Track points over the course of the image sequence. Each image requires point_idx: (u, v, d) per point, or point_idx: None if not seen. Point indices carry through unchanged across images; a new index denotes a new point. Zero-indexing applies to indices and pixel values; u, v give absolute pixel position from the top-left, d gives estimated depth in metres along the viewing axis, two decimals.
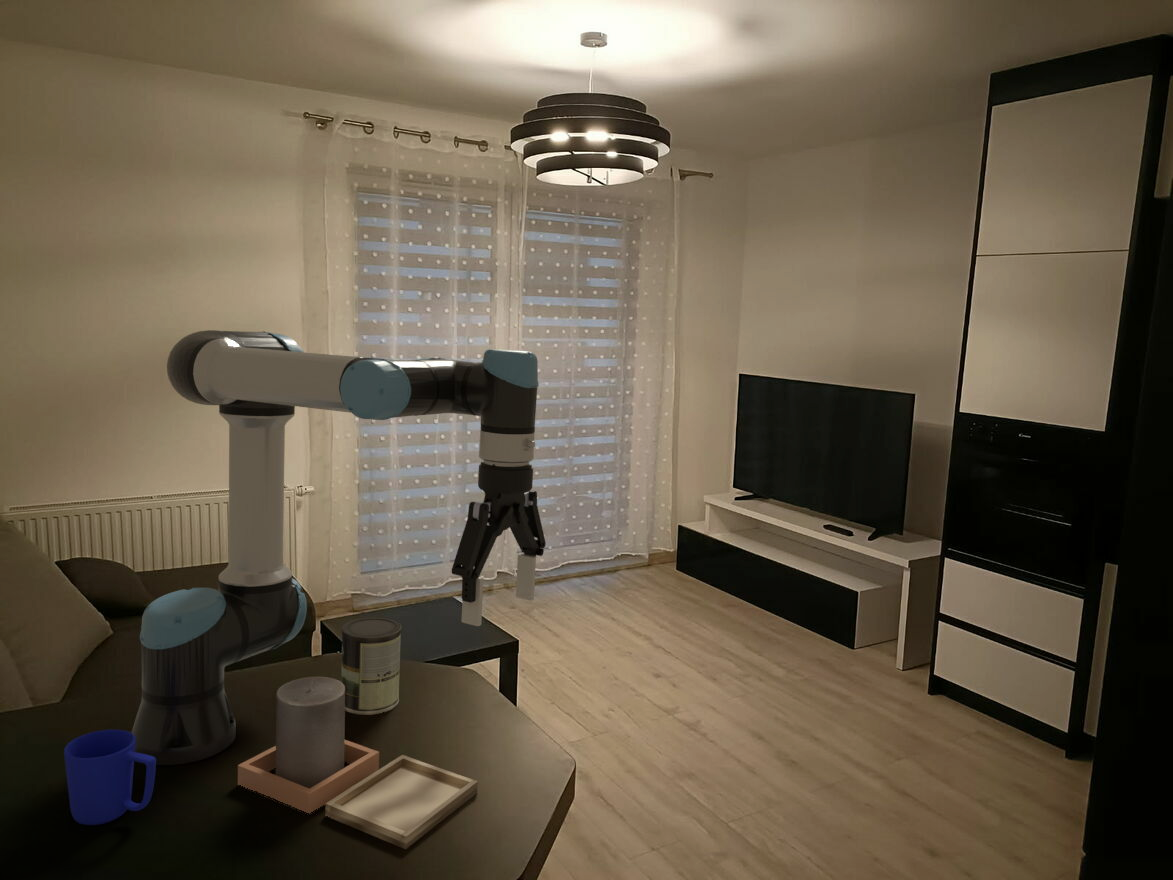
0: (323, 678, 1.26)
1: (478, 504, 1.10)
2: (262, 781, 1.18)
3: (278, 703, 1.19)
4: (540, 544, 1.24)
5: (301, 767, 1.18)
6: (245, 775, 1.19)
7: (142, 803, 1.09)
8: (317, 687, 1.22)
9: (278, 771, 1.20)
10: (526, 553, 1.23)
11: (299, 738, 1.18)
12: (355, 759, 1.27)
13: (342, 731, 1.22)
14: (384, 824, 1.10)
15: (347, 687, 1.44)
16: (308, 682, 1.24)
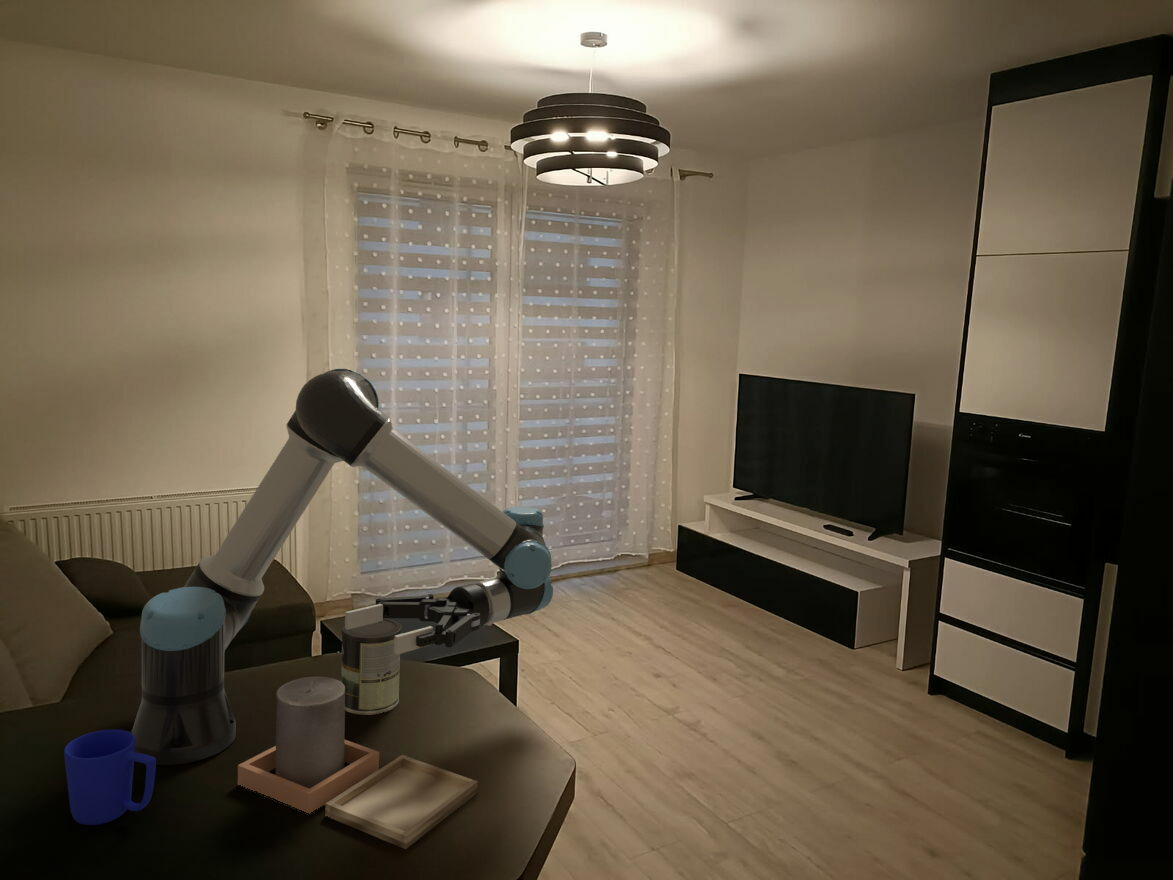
0: (323, 678, 1.26)
1: (479, 622, 1.35)
2: (262, 781, 1.18)
3: (278, 703, 1.19)
4: None
5: (301, 767, 1.18)
6: (245, 775, 1.19)
7: (142, 803, 1.09)
8: (317, 687, 1.22)
9: (278, 771, 1.20)
10: None
11: (299, 738, 1.18)
12: (355, 759, 1.27)
13: (342, 731, 1.22)
14: (384, 824, 1.10)
15: (347, 687, 1.44)
16: (308, 682, 1.24)
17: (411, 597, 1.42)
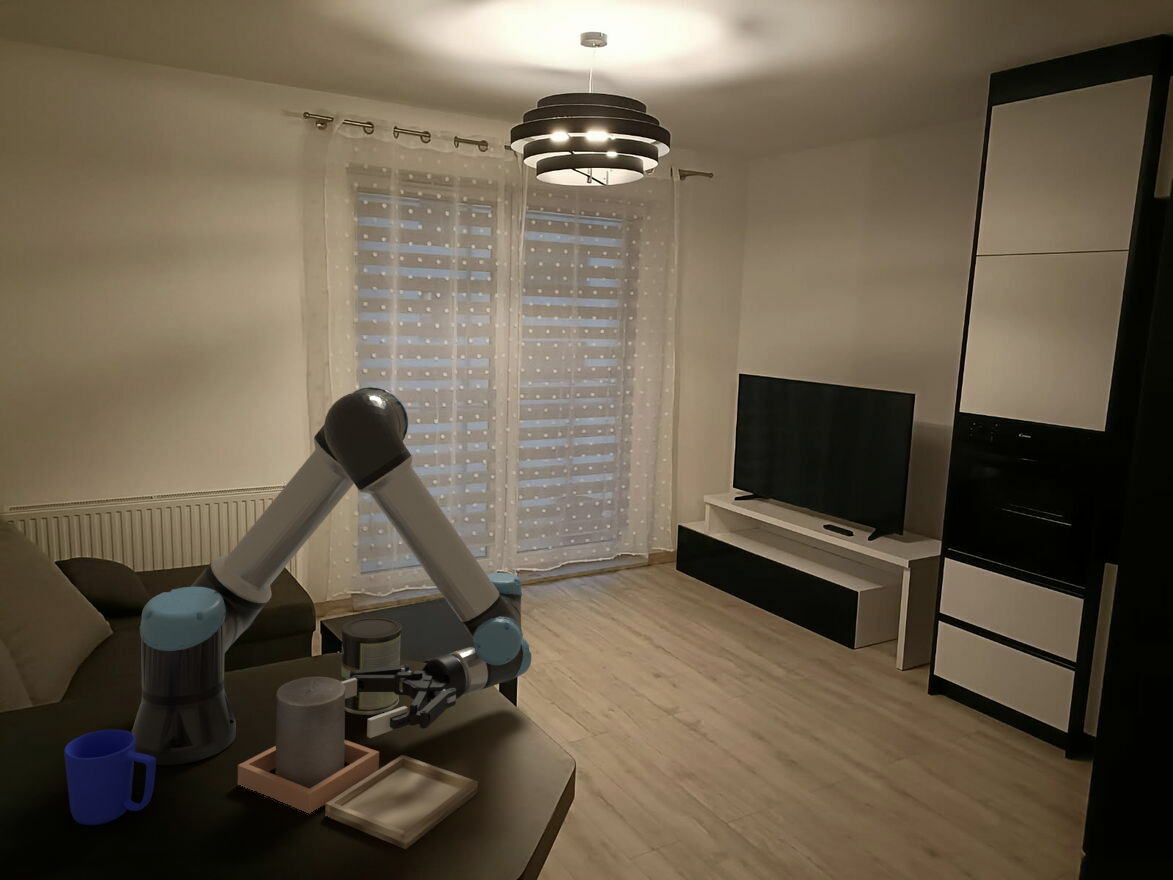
0: (323, 678, 1.26)
1: (455, 697, 1.33)
2: (262, 781, 1.18)
3: (278, 703, 1.19)
4: None
5: (301, 767, 1.18)
6: (245, 775, 1.19)
7: (142, 803, 1.09)
8: (317, 687, 1.22)
9: (278, 771, 1.20)
10: None
11: (299, 738, 1.18)
12: (355, 759, 1.27)
13: (342, 731, 1.22)
14: (384, 824, 1.10)
15: None
16: (308, 682, 1.24)
17: (386, 669, 1.39)
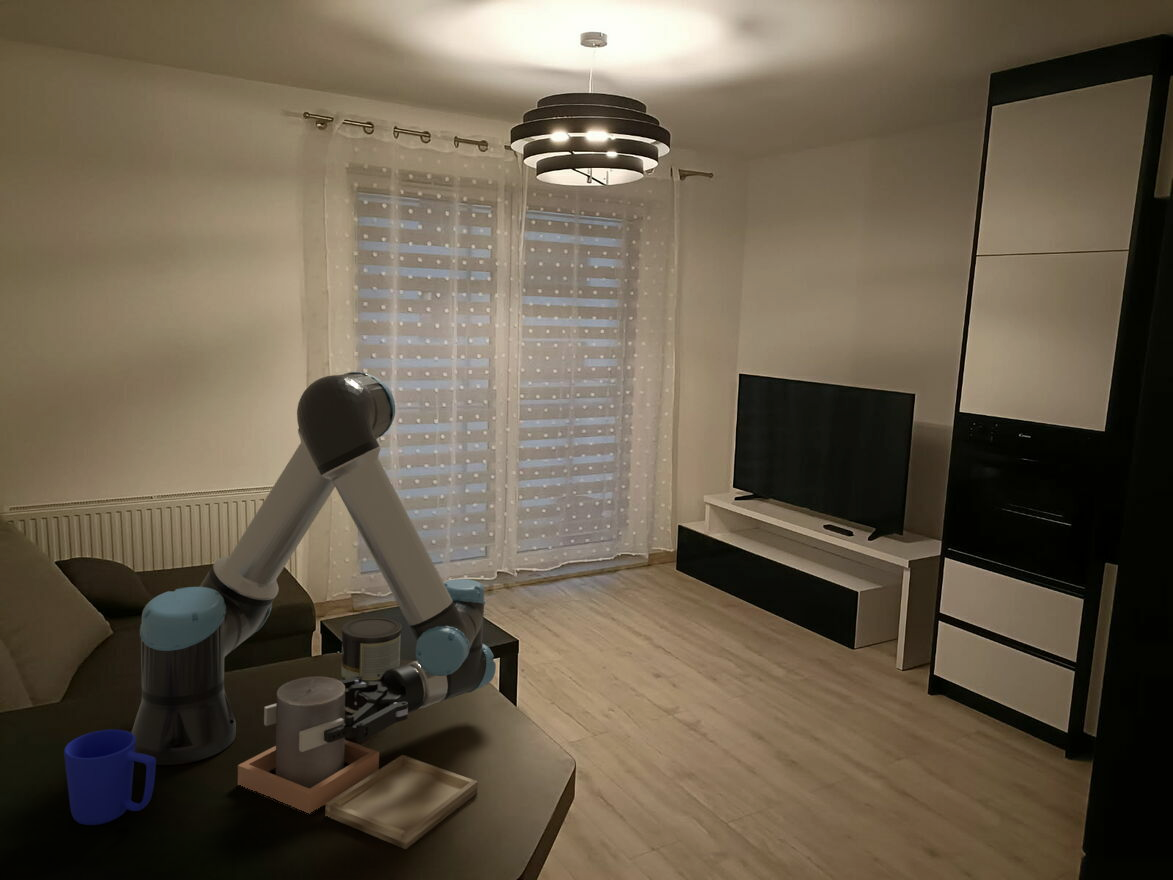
0: (323, 678, 1.26)
1: (407, 711, 1.27)
2: (262, 781, 1.18)
3: (278, 703, 1.19)
4: None
5: (302, 766, 1.18)
6: (245, 775, 1.19)
7: (142, 803, 1.09)
8: (317, 687, 1.22)
9: (278, 771, 1.20)
10: None
11: None
12: (355, 759, 1.27)
13: None
14: (384, 824, 1.10)
15: None
16: (308, 682, 1.24)
17: None
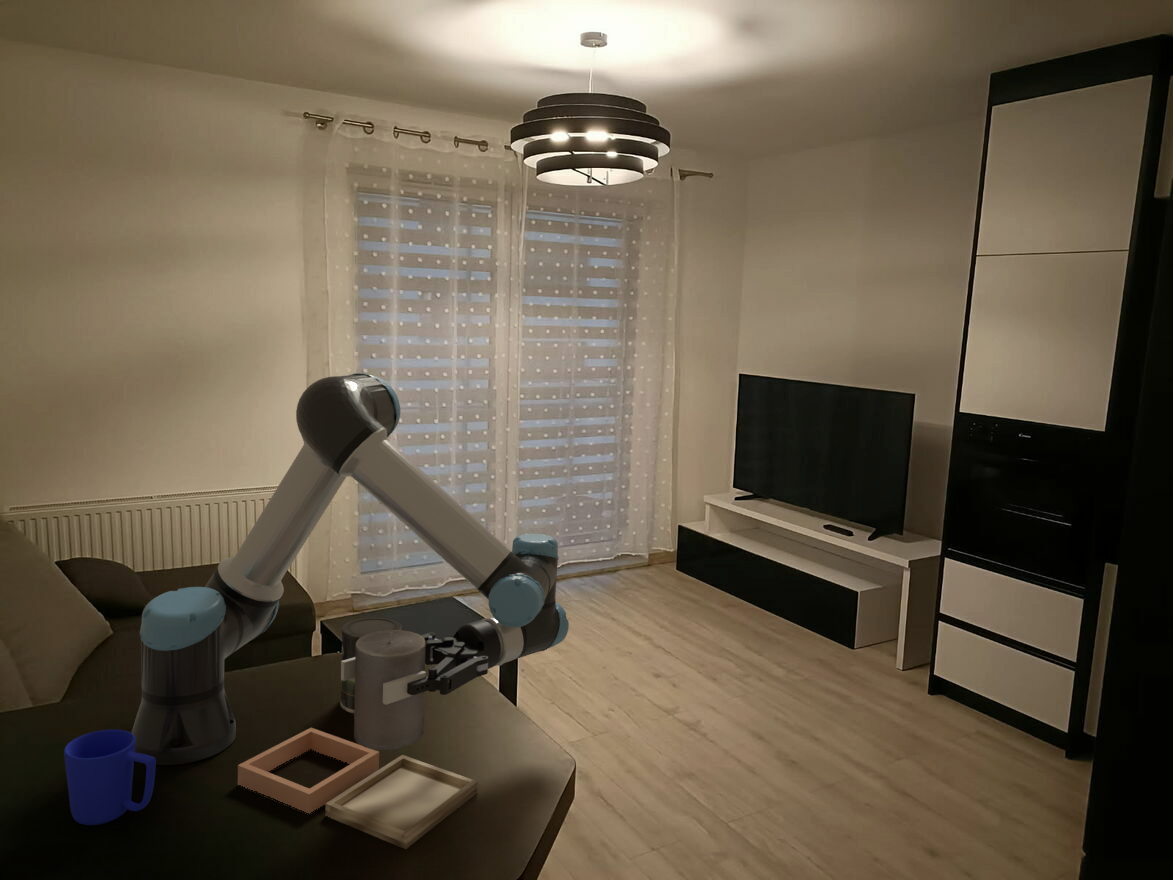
0: (400, 631, 1.20)
1: (487, 666, 1.22)
2: (262, 781, 1.18)
3: (358, 655, 1.13)
4: None
5: (384, 721, 1.13)
6: (245, 775, 1.19)
7: (142, 803, 1.09)
8: (396, 639, 1.17)
9: (358, 726, 1.15)
10: None
11: (382, 691, 1.12)
12: (355, 759, 1.27)
13: None
14: (384, 824, 1.10)
15: (347, 687, 1.44)
16: (386, 635, 1.19)
17: None
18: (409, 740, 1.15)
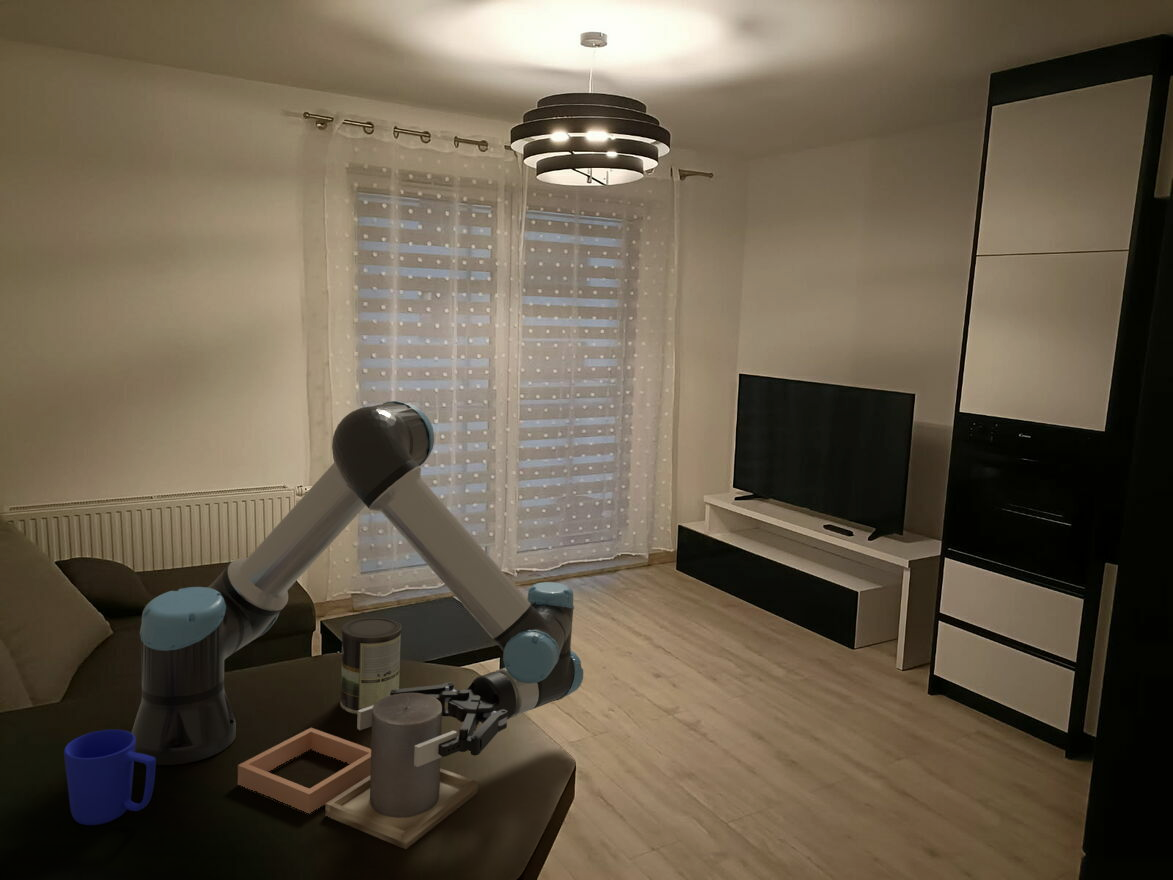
0: (417, 694, 1.20)
1: (506, 720, 1.22)
2: (262, 781, 1.18)
3: (375, 722, 1.13)
4: None
5: (400, 788, 1.13)
6: (245, 775, 1.19)
7: (142, 803, 1.09)
8: (413, 704, 1.17)
9: (374, 793, 1.14)
10: None
11: (399, 758, 1.12)
12: (355, 759, 1.27)
13: None
14: (384, 824, 1.10)
15: (347, 687, 1.44)
16: (403, 699, 1.18)
17: (429, 687, 1.28)
18: (425, 807, 1.15)
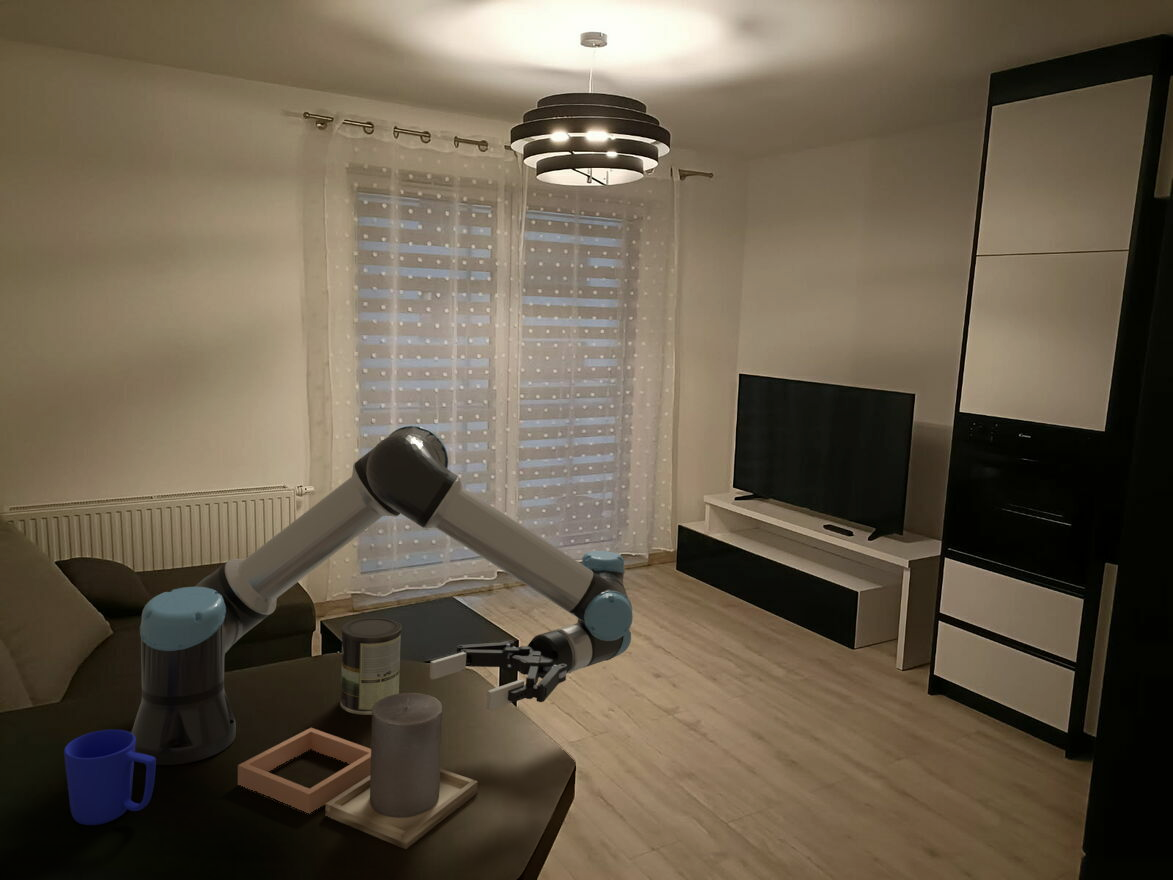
0: (417, 694, 1.20)
1: (566, 673, 1.32)
2: (262, 781, 1.18)
3: (375, 722, 1.13)
4: None
5: (400, 788, 1.13)
6: (245, 775, 1.19)
7: (142, 803, 1.09)
8: (413, 704, 1.17)
9: (374, 793, 1.14)
10: None
11: (399, 758, 1.12)
12: (355, 759, 1.27)
13: (439, 750, 1.17)
14: (384, 824, 1.10)
15: (347, 687, 1.44)
16: (403, 699, 1.18)
17: (492, 644, 1.39)
18: (425, 807, 1.15)
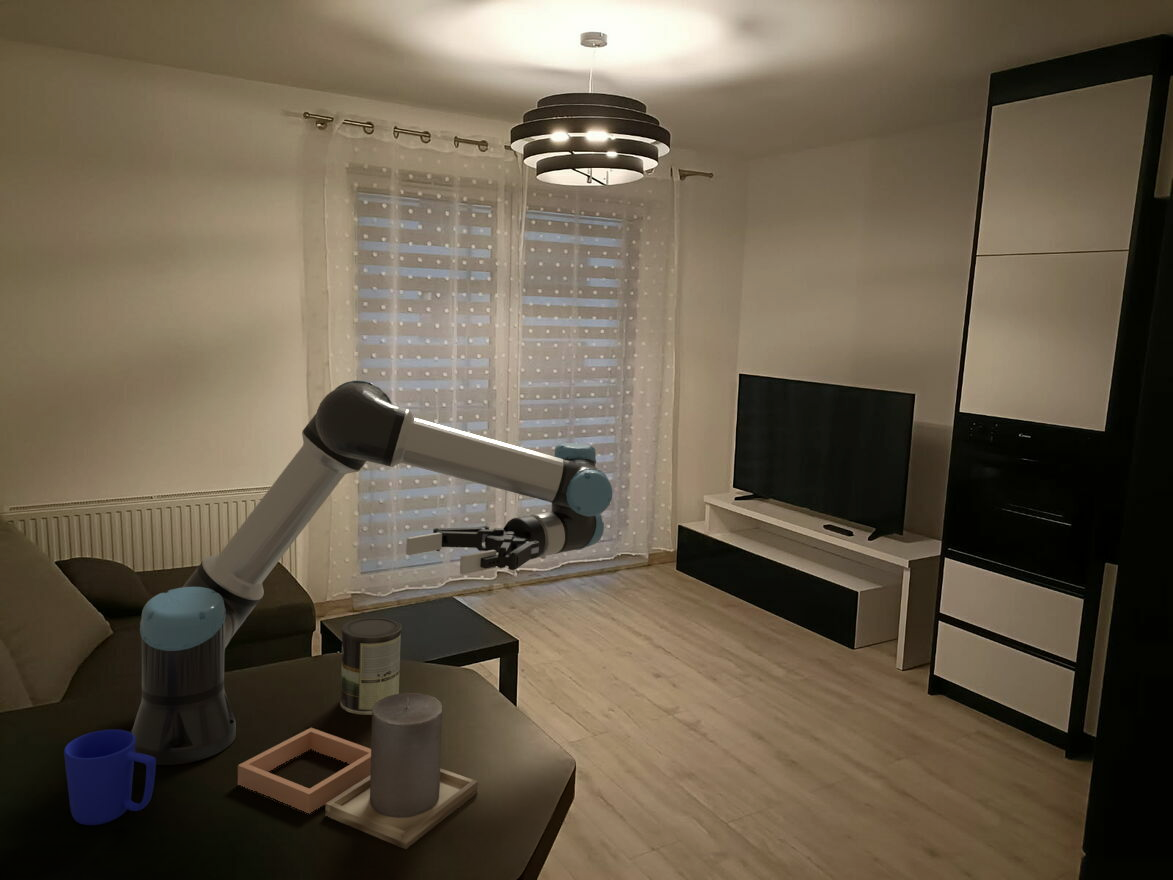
0: (417, 694, 1.20)
1: (538, 550, 1.37)
2: (262, 781, 1.18)
3: (375, 722, 1.13)
4: None
5: (400, 788, 1.13)
6: (245, 775, 1.19)
7: (142, 803, 1.09)
8: (413, 704, 1.17)
9: (374, 793, 1.14)
10: None
11: (399, 758, 1.12)
12: (355, 759, 1.27)
13: (439, 750, 1.17)
14: (384, 824, 1.10)
15: (347, 687, 1.44)
16: (403, 699, 1.18)
17: (467, 528, 1.43)
18: (425, 807, 1.15)
